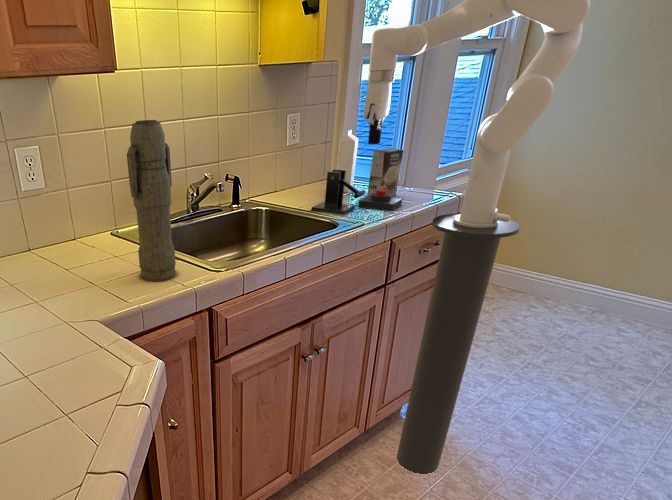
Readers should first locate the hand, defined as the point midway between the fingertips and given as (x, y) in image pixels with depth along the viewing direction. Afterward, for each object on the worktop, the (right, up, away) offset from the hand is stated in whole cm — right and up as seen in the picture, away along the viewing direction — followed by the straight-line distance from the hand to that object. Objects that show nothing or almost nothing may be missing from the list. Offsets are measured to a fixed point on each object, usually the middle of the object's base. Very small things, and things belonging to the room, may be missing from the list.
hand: (373, 143), depth 159 cm
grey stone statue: (-66, -48, -33) cm, 88 cm away
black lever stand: (-9, -16, +15) cm, 24 cm away
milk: (+3, -1, +40) cm, 41 cm away
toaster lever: (-6, -11, +10) cm, 16 cm away
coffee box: (+14, -7, +30) cm, 34 cm away
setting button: (+8, -12, +15) cm, 21 cm away
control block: (+8, -15, +17) cm, 24 cm away
